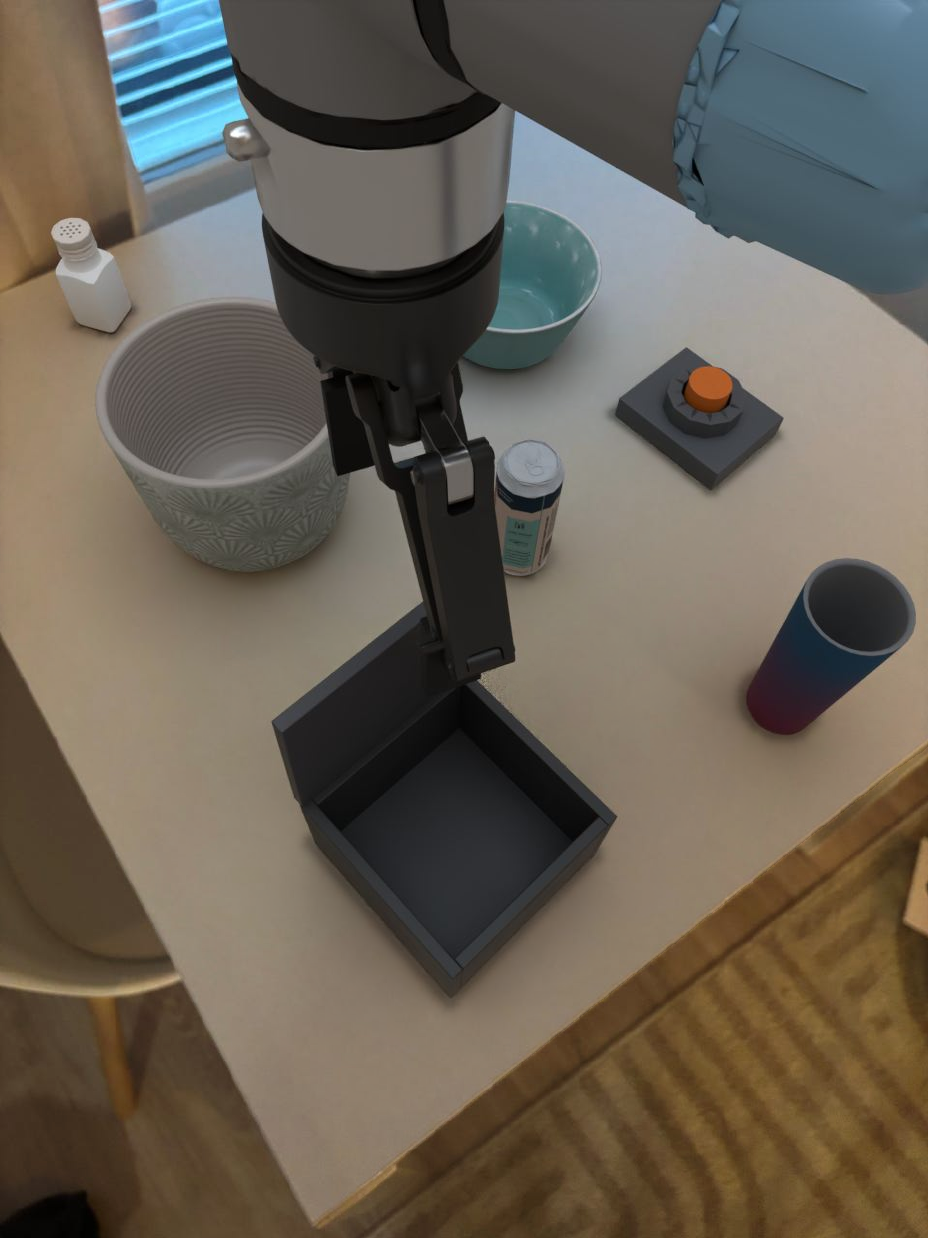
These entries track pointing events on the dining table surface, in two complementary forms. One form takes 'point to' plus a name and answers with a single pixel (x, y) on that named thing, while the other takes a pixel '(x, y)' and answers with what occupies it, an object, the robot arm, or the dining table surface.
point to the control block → (697, 421)
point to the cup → (830, 642)
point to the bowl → (538, 287)
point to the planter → (224, 432)
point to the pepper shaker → (89, 277)
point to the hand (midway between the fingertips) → (402, 566)
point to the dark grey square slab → (352, 709)
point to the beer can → (527, 504)
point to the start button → (708, 389)
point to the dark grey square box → (457, 830)
